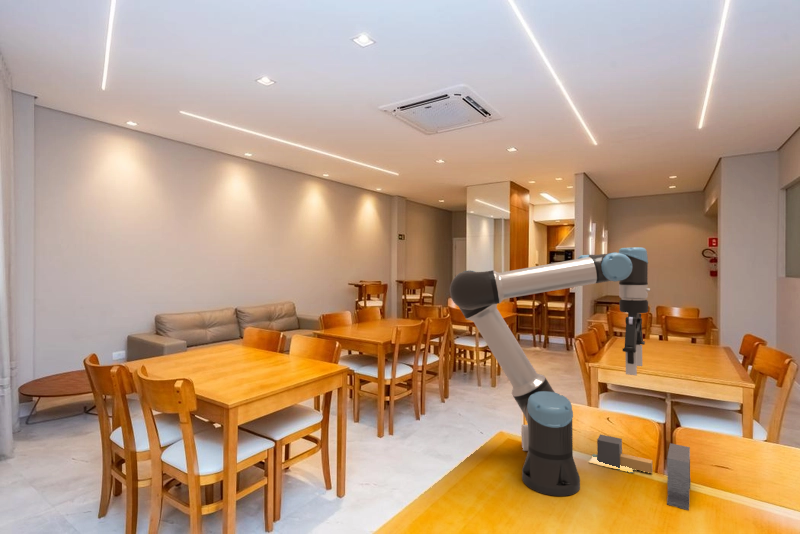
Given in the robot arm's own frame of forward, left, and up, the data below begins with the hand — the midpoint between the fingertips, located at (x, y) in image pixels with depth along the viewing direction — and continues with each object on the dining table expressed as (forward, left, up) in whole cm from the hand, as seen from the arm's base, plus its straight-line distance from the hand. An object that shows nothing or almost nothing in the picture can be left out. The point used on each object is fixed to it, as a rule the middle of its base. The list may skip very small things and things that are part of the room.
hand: (634, 370), depth 125 cm
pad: (-6, -3, -29) cm, 29 cm away
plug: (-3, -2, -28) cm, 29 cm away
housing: (+11, -10, -29) cm, 32 cm away
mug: (-28, -4, -29) cm, 40 cm away
